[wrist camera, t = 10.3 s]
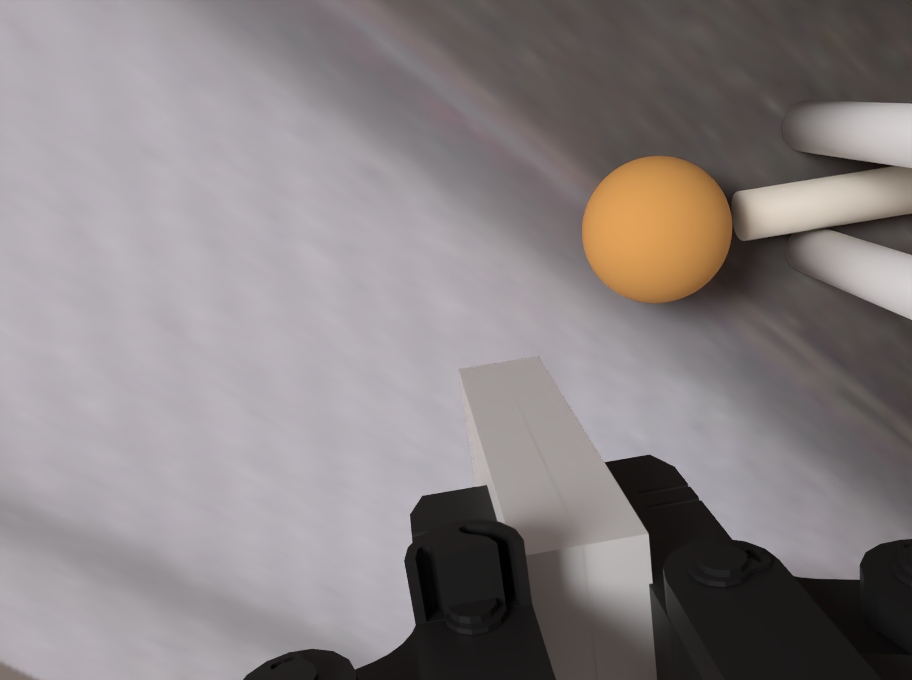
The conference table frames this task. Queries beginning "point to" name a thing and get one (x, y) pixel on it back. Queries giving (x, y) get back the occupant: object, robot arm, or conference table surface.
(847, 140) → the pin
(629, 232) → the ball
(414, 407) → the conference table surface
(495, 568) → the robot arm
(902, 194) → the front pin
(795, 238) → the pin
